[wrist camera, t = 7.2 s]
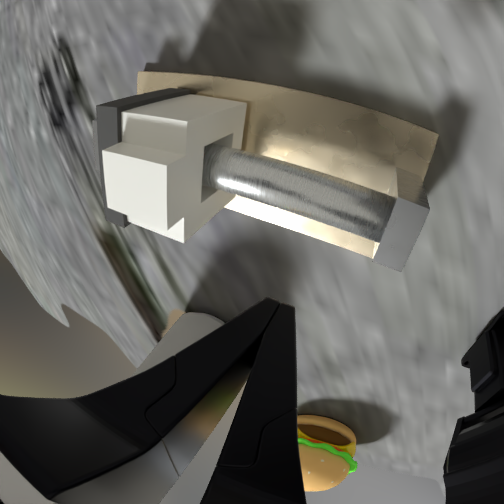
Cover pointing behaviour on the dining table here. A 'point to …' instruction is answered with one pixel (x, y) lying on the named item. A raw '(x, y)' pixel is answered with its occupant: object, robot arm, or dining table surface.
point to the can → (180, 337)
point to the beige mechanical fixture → (316, 165)
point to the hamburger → (325, 451)
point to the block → (112, 132)
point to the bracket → (170, 162)
